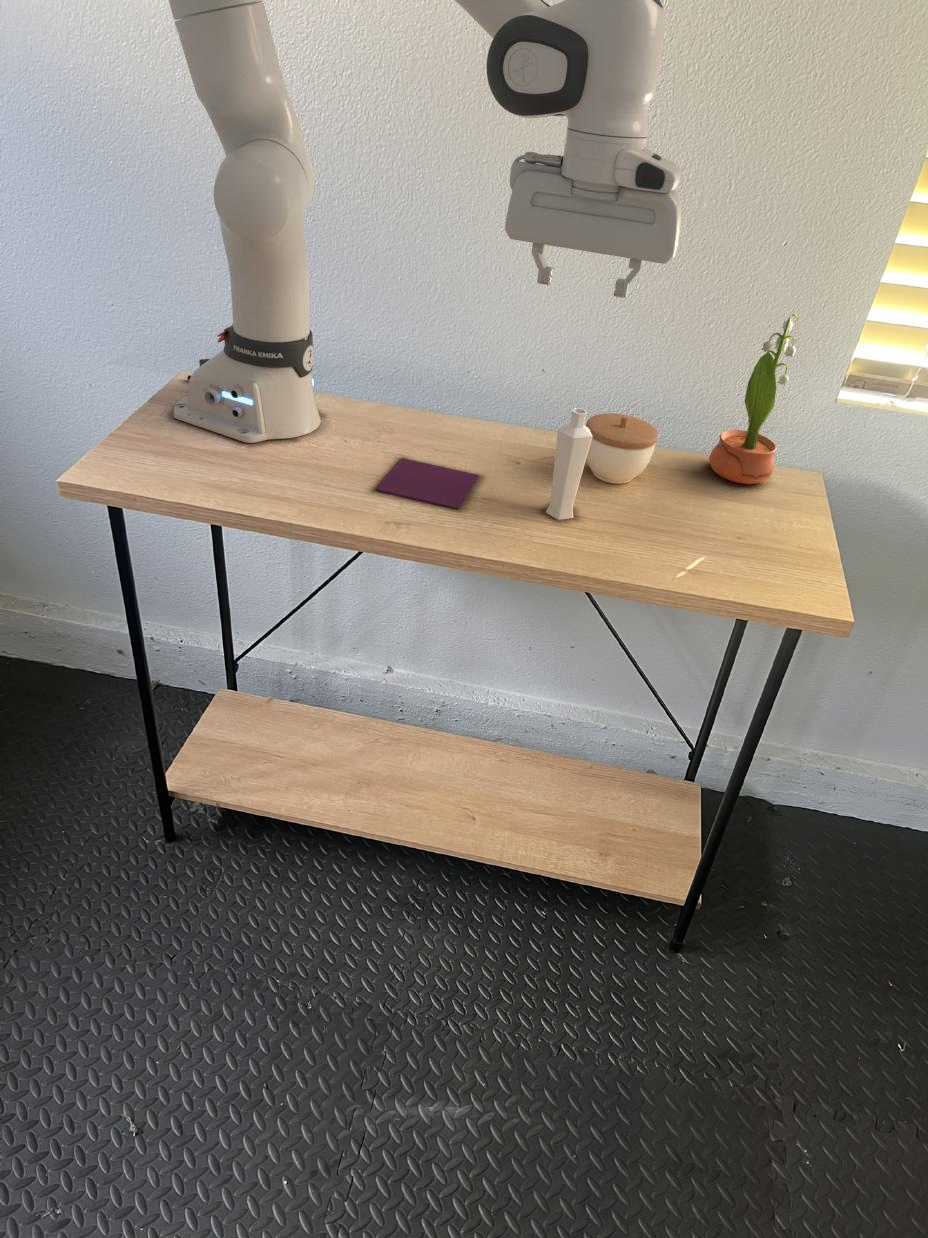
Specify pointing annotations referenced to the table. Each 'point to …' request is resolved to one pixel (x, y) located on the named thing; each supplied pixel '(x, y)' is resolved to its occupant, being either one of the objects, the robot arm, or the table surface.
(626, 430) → the trinket box
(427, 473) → the cloth
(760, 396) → the potted flower
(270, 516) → the table surface
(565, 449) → the white faceted vase
